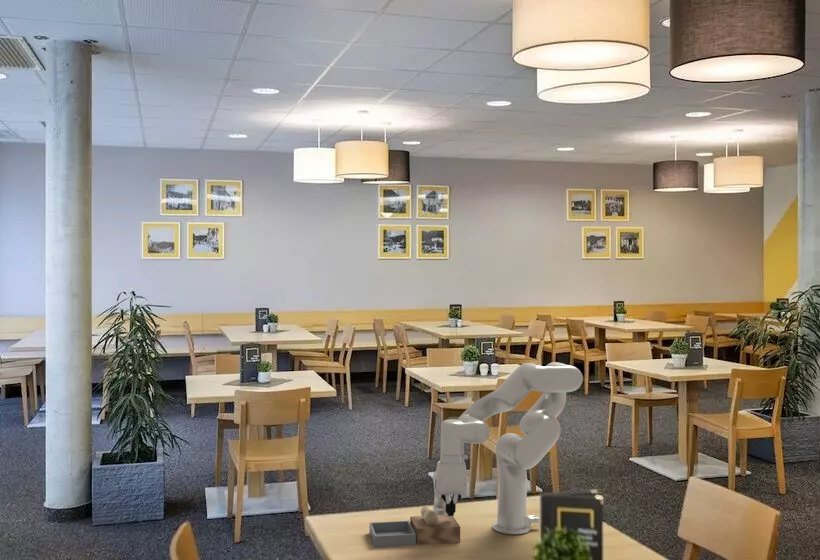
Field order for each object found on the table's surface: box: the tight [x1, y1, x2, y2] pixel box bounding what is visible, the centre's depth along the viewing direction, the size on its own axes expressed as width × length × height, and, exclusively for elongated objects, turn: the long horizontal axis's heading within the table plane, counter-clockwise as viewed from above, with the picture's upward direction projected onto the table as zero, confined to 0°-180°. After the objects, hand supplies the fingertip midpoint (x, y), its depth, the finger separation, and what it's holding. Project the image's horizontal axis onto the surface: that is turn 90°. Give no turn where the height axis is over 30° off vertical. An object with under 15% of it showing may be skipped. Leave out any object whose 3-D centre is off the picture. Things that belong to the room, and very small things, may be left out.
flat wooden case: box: [409, 515, 461, 546], centre depth 264 cm, size 14×12×5 cm
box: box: [369, 520, 417, 549], centre depth 261 cm, size 13×13×4 cm
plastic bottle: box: [432, 460, 452, 515], centre depth 280 cm, size 6×7×20 cm
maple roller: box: [420, 505, 438, 526], centre depth 263 cm, size 4×8×4 cm, turn 9°
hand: (450, 514), depth 264 cm, fingers closed
